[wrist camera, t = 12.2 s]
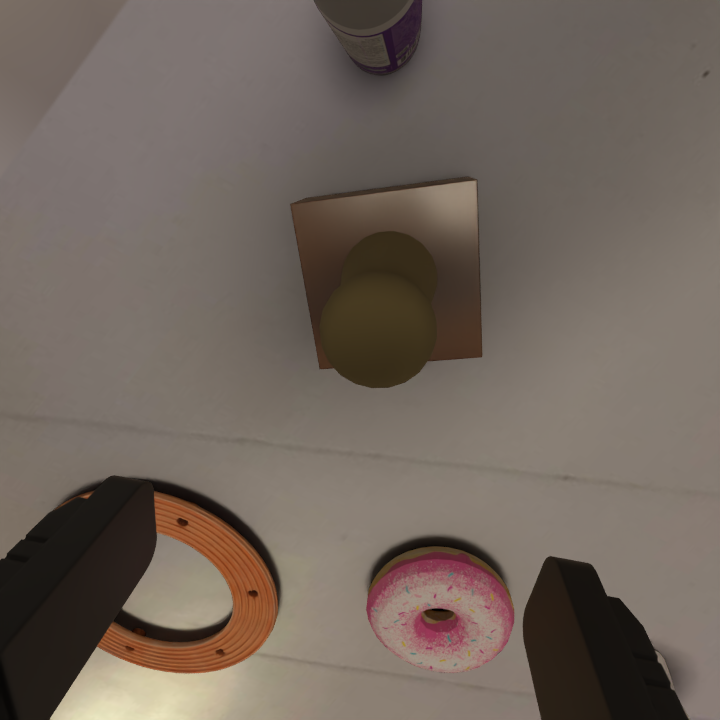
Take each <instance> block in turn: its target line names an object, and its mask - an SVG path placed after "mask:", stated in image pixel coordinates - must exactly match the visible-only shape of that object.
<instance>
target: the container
mask: <svg viewBox="0 0 720 720" xmlns="http://www.w3.org/2000/svg"><path fill="white" fill-rule="evenodd" d="M314 2H315V4H316V6H317V8H318V9H319V11H320V12H321V14H322V15H323V17H324V18H325V20H326V21H327V23H328V24H329V26H330V27H331V29H332V30H333V32H334V33H335V35H336V37H337V38H338V40H339V41H340V43H341V44H342V46H343V47H344V49H345V50H346V52H347V53H348V55H349V56H350V58H351V59H352V60H353V62H354V63H355V64H356V65H357V66H358V67H360V68H361V69H363V70H364V71H366V72H368V73H371V74H376V75H384V74H389V73H392V72H395V71H397V70H398V69H400V68H401V67H403V66H404V65H405V64H406V63H407V62H408V61H409V59H410V58H411V57H412V55H413V53H414V52H415V50H416V47H417V45H418V41H419V37H420V31H421V14H422V0H314Z"/></svg>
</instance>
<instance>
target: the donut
mask: <svg viewBox="0 0 720 720" xmlns="http://www.w3.org/2000/svg"><path fill="white" fill-rule="evenodd" d="M433 608H442V609H447V611H433V610H429V609H433ZM366 610H367V614H368V619H369V622H370V624H371V627H372V629H373V631H374V632H375V634H376V636H377V638H378V639H379V640H380V641H381V642H382V643H383V644H384V646H385V647H387V648H388V649H389V650H390V651H391V652H393V653H394V654H395V655H397V656H398V657H400V658H401V659H403V660H405V661H407V662H408V663H410V664H413V665H415V666H418V667H420V668H423V669H427V670H431V671H437V672H444V673H457V672H464V671H469V670H472V669H475V668H478V667H480V666H481V665H483V664H485V663H487V662H488V661H490V660H492V659H493V658H494V657H495V656H496V655H497V654H498V653H500V652H501V651H502V649H503V648H504V646H505V645H506V643H507V642H508V639H509V636H510V634H511V631H512V627H513V624H514V607H513V603H512V600H511V596H510V593H509V590H508V588H507V587H506V585H505V583H504V582H503V580H502V579H501V578H500V577H499V575H498V574H497V573H496V572H495V571H494V570H493V569H492V568H491V567H490V566H489V565H488V564H486V563H485V562H483V561H482V560H480V559H479V558H477V557H476V556H474V555H471V554H469V553H467V552H464V551H462V550H458V549H453V548H449V547H436V546H433V547H424V548H418V549H415V550H411V551H408V552H405V553H403V554H401V555H399V556H397V557H395V558H394V559H392V560H391V561H390V562H388V563H387V564H386V565H385V566H384V567H383V568H382V569H381V570H380V571H379V573H378V574H377V575H376V577H375V578H374V579H373V581H372V584H371V586H370V588H369V591H368V600H367V608H366Z"/></svg>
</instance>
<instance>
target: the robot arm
mask: <svg viewBox="0 0 720 720" xmlns="http://www.w3.org/2000/svg"><path fill="white" fill-rule="evenodd" d="M156 541H157V532H156V517H155V502H154V489H153V485H152V484H151V483H150V482H147V481H142V480H136V479H131V478H125V477H120V476H110V477H109V478H107V479H106V480H105V481H104V482H103V483H102V484H101V485H100V486H99V487H98V488H97V489H96V490H95V491H94V492H93V493H92V494H91V495H90V496H89V497H88V498H82V497H76V498H74V499H73V500H71V501H69V502H67V503H66V504H64V505H62V506H60V507H59V508H57V509H55V510H53V511H52V512H50V513H48V514H47V515H46V516H45V517H44V518H43V519H42V520H41V521H40V522H39V523H38V524H37V525H36V526H35V527H34V528H33V529H32V530H31V531H30V532H29V533H28V534H27V535H26V538H25V539H24V540H21V541H20V542H18V543H17V544H16V545H15V546H14V547H13V548H12V549H11V550H10V551H9V552H8V553H7V556H6V558H5V559H1V560H0V720H49V719H50V717H51V716H52V714H53V713H54V711H55V710H56V708H57V707H58V705H59V704H60V702H61V701H62V699H63V698H64V696H65V694H66V693H67V691H68V690H69V688H70V687H71V685H72V684H73V682H74V681H75V679H76V678H77V676H78V674H79V673H80V671H81V670H82V668H83V667H84V665H85V664H86V662H87V661H88V659H89V658H90V656H91V654H92V653H93V651H94V650H95V648H96V647H97V645H98V644H99V642H100V641H101V639H102V638H103V636H104V634H105V633H106V631H107V630H108V628H109V627H110V625H111V624H112V622H113V621H114V619H115V618H116V616H117V614H118V613H119V611H120V610H121V608H122V607H123V605H124V604H125V602H126V601H127V599H128V598H129V596H130V595H131V593H132V591H133V590H134V588H135V587H136V585H137V584H138V582H139V581H140V579H141V578H142V576H143V575H144V573H145V571H146V570H147V568H148V566H149V564H150V562H151V560H152V557H153V554H154V551H155V547H156ZM523 638H524V644H525V649H526V653H527V658H528V662H529V667H530V671H531V675H532V680H533V684H534V689H535V693H536V698H537V702H538V706H539V711H540V715H541V720H689V719H688V717H687V715H686V713H685V711H684V709H683V707H682V705H681V703H680V701H679V699H678V697H677V695H676V693H675V691H674V690H672V689H671V687H670V684H671V683H670V680H669V678H668V676H667V674H666V672H665V670H664V668H663V666H662V664H661V663H659V662H658V656H657V654H656V652H655V650H654V648H653V646H652V644H651V641H650V639H649V637H648V635H647V633H646V631H645V629H644V627H643V625H642V624H641V623H640V622H639V621H638V620H637V618H636V617H635V616H634V615H633V614H632V613H631V611H630V610H629V609H628V608H627V607H626V606H625V604H624V603H623V602H622V601H621V600H620V599H619V598H615V597H609V596H607V595H606V593H605V590H604V588H603V586H602V583H601V581H600V579H599V577H598V574H597V572H596V570H595V569H594V567H593V566H592V565H591V564H589V563H585V562H579V561H574V560H568V559H563V558H557V557H552V556H550V557H548V558H546V560H545V561H544V563H543V566H542V568H541V571H540V573H539V576H538V578H537V581H536V583H535V586H534V588H533V590H532V593H531V595H530V598H529V600H528V603H527V605H526V608H525V612H524V617H523Z"/></svg>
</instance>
